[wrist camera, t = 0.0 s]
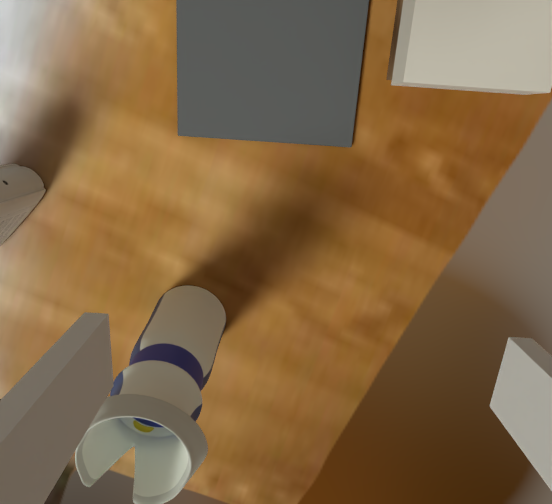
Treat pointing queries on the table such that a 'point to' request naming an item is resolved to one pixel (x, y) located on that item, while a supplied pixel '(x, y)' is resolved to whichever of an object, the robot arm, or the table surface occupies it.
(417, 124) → the table surface
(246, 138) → the rubber mat
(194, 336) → the water bottle
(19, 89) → the table surface
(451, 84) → the lid
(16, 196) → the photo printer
